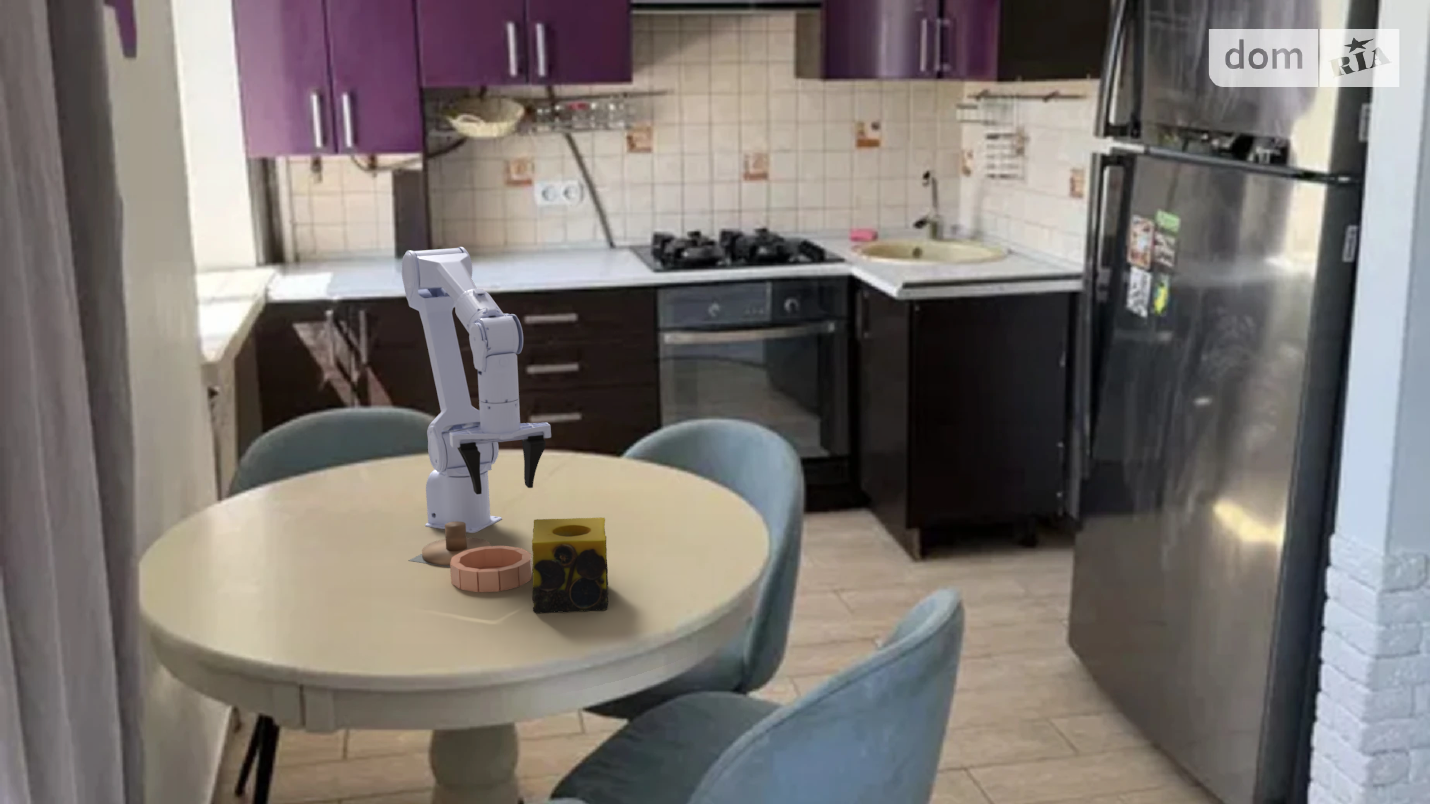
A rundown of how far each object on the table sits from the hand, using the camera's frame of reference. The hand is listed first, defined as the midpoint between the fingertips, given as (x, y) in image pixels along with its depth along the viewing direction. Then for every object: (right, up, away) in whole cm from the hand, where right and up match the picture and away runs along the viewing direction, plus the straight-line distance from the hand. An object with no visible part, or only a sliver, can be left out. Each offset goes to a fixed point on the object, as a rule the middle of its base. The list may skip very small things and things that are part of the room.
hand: (503, 489), depth 201 cm
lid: (-7, -10, +1) cm, 12 cm away
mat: (-7, -10, +1) cm, 12 cm away
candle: (+12, -14, -17) cm, 25 cm away
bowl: (0, -12, -9) cm, 15 cm away
